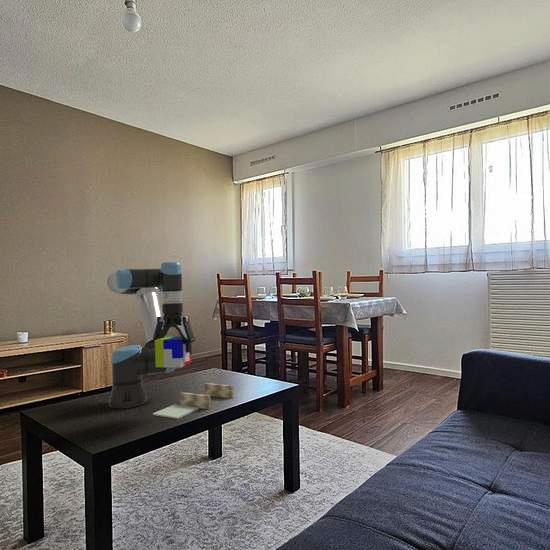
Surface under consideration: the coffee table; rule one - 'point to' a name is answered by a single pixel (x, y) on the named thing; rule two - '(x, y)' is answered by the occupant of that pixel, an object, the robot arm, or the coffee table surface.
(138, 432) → the coffee table surface
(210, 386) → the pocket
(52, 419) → the coffee table surface
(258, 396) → the coffee table surface
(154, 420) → the coffee table surface
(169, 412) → the pad
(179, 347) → the puzzle toy
